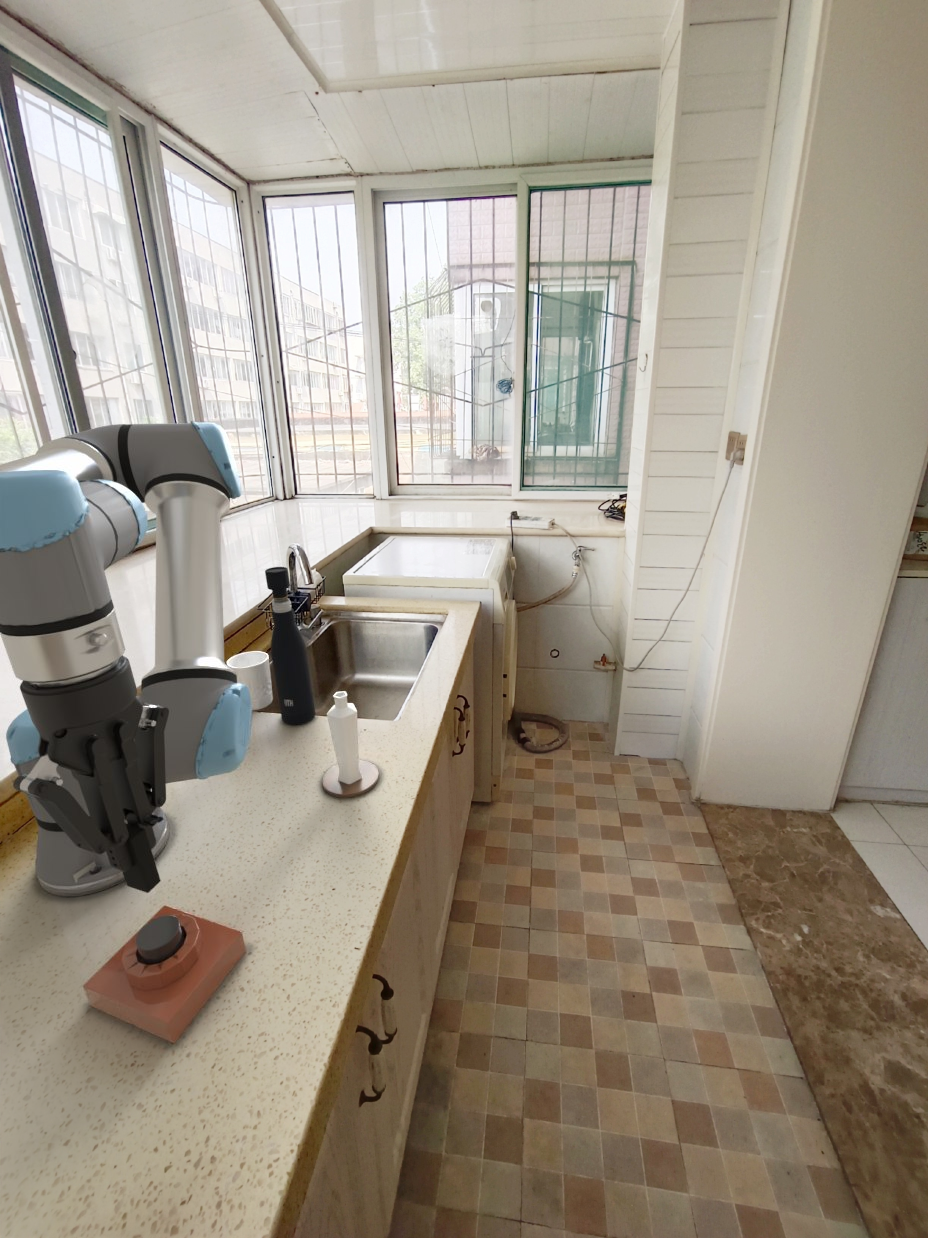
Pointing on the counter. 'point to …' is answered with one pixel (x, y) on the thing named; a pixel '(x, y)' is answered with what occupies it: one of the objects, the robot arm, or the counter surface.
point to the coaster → (353, 789)
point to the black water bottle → (289, 654)
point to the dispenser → (167, 977)
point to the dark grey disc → (159, 939)
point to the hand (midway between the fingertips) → (143, 883)
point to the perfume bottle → (345, 737)
